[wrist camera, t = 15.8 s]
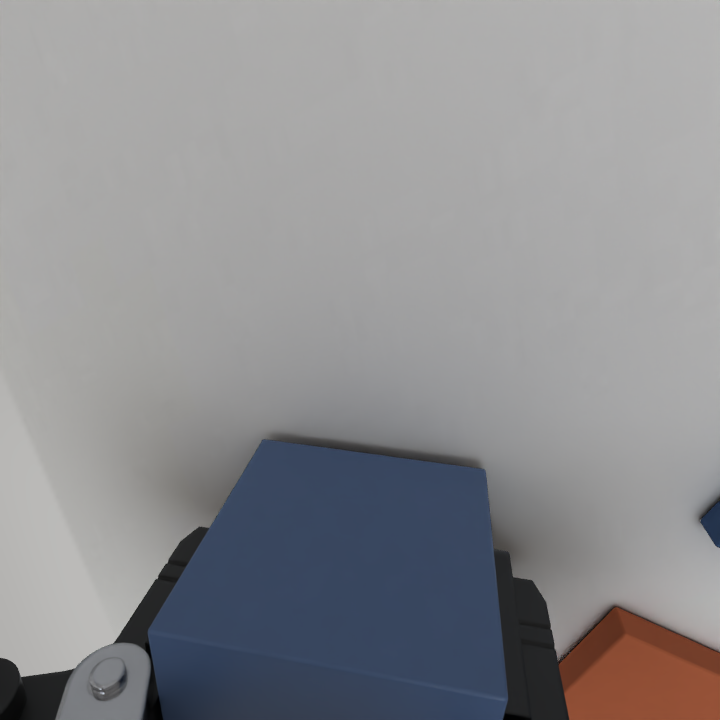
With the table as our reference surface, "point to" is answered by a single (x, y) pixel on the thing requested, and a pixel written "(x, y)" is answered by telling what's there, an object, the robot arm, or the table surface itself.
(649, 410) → the table surface
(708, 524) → the blue mat
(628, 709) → the terracotta mat
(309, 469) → the blue block
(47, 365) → the table surface
